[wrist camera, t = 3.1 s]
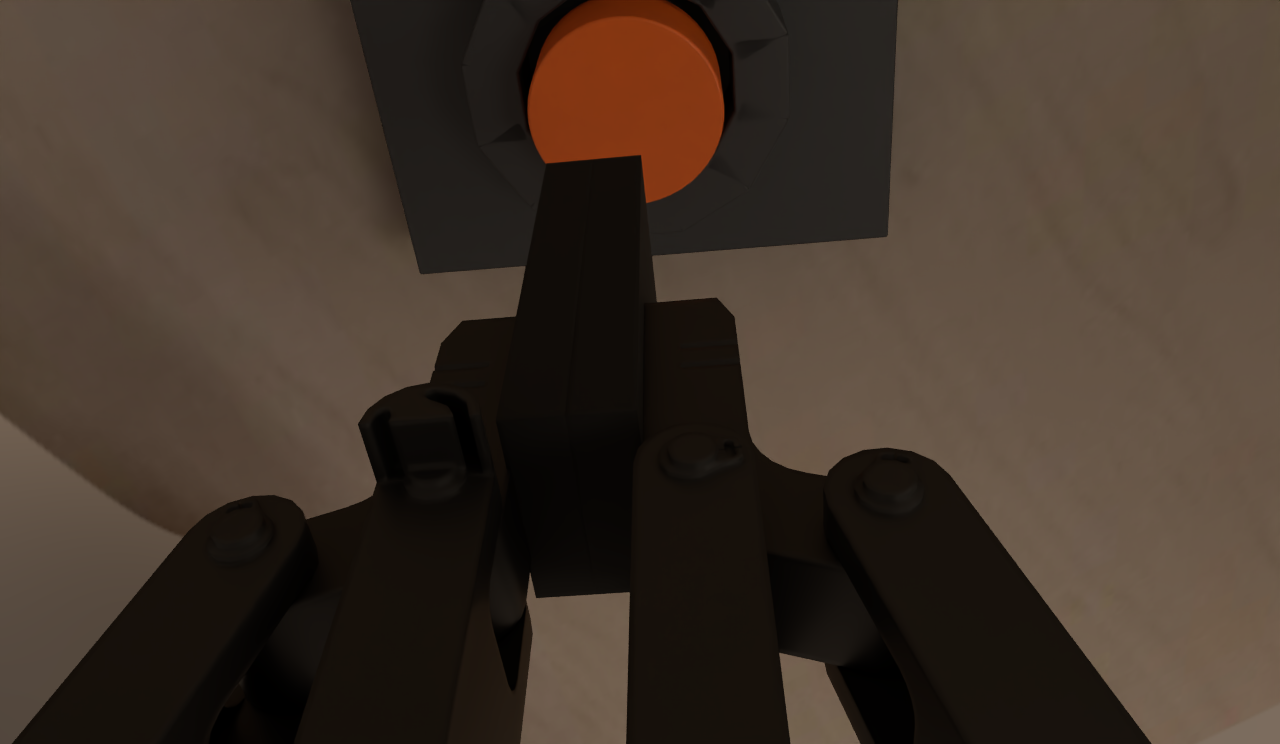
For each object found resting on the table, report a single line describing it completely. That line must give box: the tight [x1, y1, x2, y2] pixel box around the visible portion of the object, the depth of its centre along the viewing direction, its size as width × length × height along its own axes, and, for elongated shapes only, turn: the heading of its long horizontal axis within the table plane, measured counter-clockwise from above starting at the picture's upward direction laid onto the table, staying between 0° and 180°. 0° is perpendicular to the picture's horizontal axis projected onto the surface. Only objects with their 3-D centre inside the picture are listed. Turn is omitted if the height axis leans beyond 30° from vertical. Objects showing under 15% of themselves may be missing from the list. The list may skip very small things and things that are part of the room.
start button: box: [527, 0, 724, 203], centre depth 22 cm, size 4×4×2 cm
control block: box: [350, 0, 898, 274], centre depth 24 cm, size 12×10×4 cm
